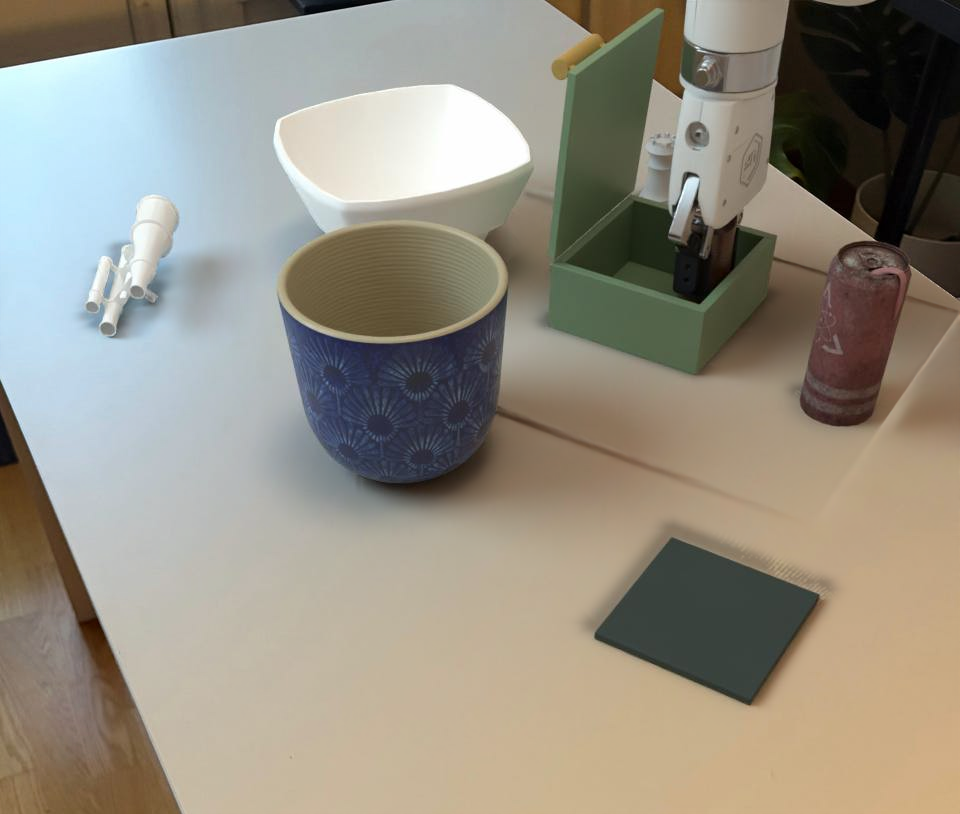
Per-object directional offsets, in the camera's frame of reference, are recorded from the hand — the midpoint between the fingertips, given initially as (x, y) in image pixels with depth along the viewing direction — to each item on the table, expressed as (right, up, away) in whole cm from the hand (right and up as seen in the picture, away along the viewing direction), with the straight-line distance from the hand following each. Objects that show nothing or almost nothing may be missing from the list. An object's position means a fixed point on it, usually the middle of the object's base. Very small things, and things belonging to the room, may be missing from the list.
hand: (703, 279), depth 107 cm
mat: (-3, -32, -20) cm, 38 cm away
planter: (-26, -17, -6) cm, 31 cm away
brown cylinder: (0, -2, +3) cm, 4 cm away
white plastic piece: (-52, +2, +9) cm, 53 cm away
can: (+10, -13, -4) cm, 17 cm away
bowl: (-27, +7, +13) cm, 30 cm away
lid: (-9, +10, -4) cm, 14 cm away
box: (-3, -2, +5) cm, 6 cm away
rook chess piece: (-2, +13, +18) cm, 22 cm away
